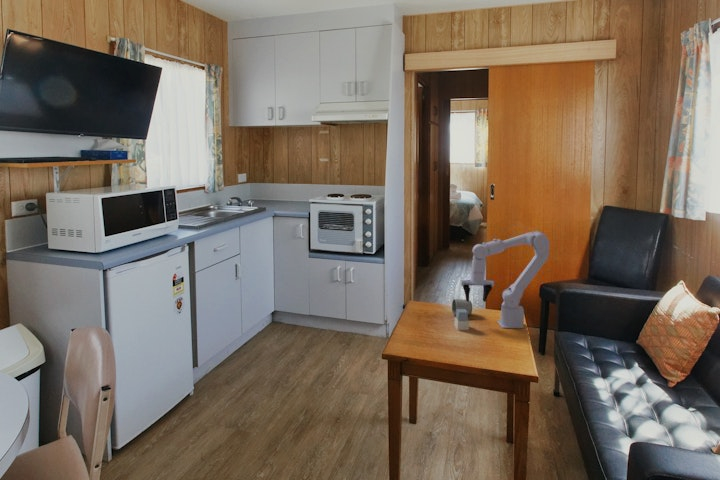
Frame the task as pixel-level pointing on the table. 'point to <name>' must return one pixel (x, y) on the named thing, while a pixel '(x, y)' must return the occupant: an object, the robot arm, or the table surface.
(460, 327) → the cream block
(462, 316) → the blue cube
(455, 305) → the ceramic mug
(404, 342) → the table surface
